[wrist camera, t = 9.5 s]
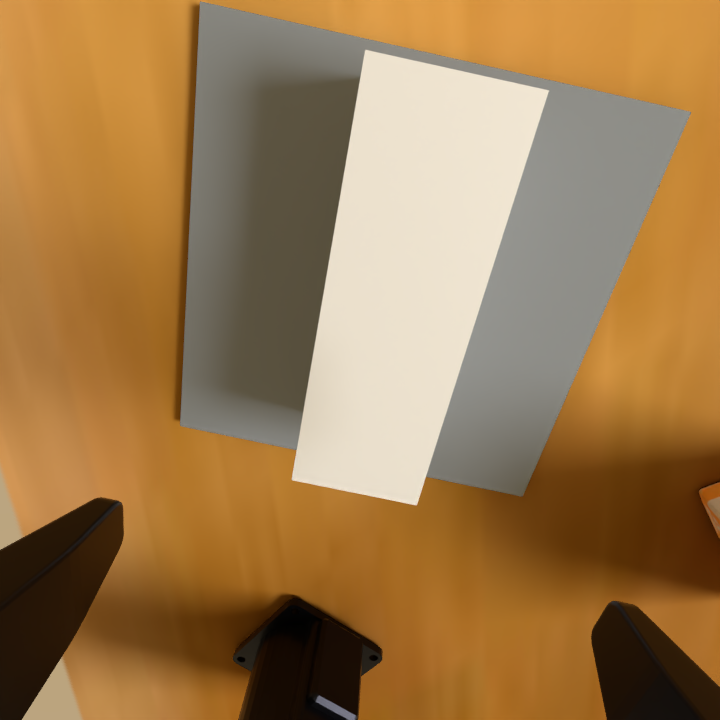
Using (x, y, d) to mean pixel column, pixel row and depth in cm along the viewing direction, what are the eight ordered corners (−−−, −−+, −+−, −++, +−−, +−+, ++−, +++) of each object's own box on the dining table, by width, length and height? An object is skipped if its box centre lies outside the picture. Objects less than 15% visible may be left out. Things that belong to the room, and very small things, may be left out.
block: (416, 505, 17) (549, 90, 11) (291, 480, 16) (365, 49, 11) (412, 435, 21) (507, 107, 15) (312, 414, 21) (372, 77, 15)
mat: (520, 490, 22) (522, 496, 22) (183, 421, 22) (180, 425, 21) (683, 113, 15) (690, 111, 15) (205, 5, 15) (199, 1, 15)
